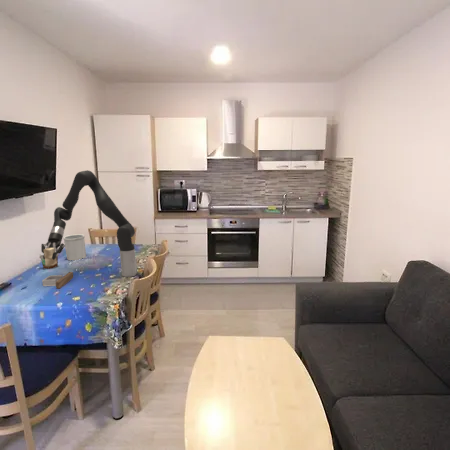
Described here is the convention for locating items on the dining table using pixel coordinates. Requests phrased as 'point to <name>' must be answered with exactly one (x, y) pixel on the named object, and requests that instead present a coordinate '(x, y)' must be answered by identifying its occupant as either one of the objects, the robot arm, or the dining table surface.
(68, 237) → the utensil holder
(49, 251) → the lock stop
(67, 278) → the rail
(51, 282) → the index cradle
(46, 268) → the food container
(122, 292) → the dining table surface
